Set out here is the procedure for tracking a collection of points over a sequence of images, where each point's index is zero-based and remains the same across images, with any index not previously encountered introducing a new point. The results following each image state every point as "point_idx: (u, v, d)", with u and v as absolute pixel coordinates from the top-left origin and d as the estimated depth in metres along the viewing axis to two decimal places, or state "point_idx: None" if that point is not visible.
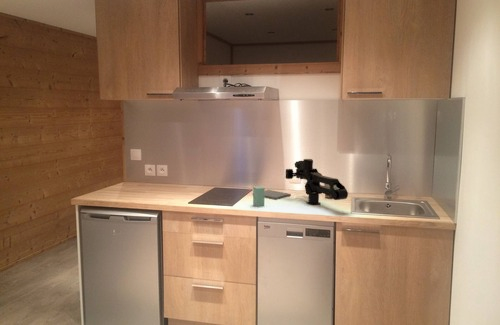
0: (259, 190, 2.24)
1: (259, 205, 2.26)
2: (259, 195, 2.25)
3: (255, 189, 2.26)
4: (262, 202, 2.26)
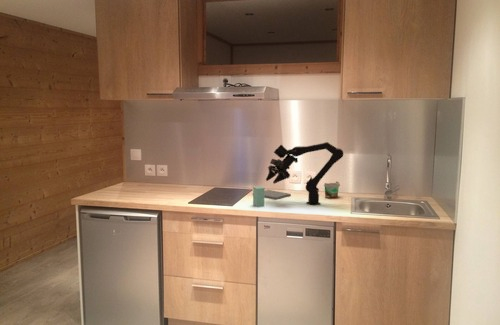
0: (259, 190, 2.24)
1: (259, 205, 2.26)
2: (259, 195, 2.25)
3: (255, 189, 2.26)
4: (262, 202, 2.26)
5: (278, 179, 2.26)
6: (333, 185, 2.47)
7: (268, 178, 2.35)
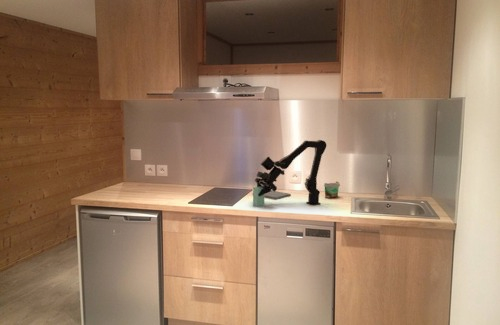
0: (259, 190, 2.24)
1: (259, 205, 2.26)
2: None
3: (255, 189, 2.26)
4: (262, 202, 2.26)
5: (263, 192, 2.24)
6: (333, 185, 2.47)
7: None
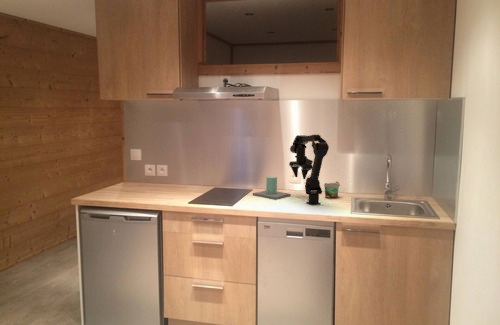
0: (268, 179, 2.54)
1: (268, 192, 2.55)
2: (268, 183, 2.54)
3: None
4: (270, 190, 2.53)
5: None
6: (333, 185, 2.47)
7: None
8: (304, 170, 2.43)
